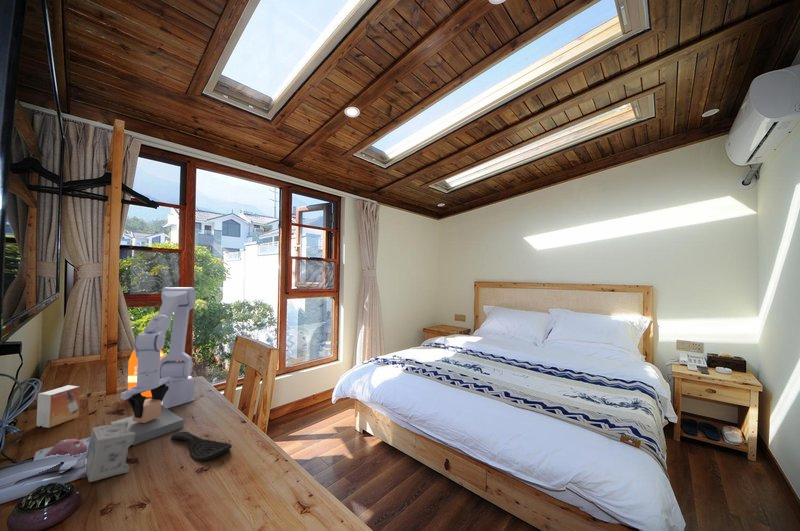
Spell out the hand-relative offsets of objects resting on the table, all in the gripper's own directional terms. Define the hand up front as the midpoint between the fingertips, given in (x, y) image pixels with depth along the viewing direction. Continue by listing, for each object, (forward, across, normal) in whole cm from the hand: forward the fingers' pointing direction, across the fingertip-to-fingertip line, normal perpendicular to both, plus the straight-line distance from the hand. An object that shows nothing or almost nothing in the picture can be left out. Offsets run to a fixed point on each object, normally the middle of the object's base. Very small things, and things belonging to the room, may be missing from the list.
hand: (147, 413), depth 99 cm
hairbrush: (+6, +3, +24) cm, 25 cm away
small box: (+5, +5, -32) cm, 33 cm away
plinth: (+5, 0, 0) cm, 5 cm away
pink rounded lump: (+5, +20, -2) cm, 20 cm away
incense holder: (+5, +18, +12) cm, 22 cm away
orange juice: (+5, -21, -29) cm, 36 cm away
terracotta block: (+2, 0, 0) cm, 2 cm away
